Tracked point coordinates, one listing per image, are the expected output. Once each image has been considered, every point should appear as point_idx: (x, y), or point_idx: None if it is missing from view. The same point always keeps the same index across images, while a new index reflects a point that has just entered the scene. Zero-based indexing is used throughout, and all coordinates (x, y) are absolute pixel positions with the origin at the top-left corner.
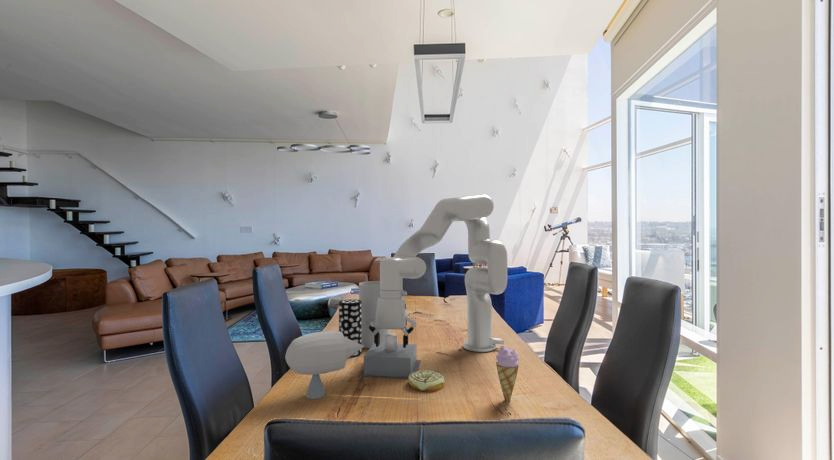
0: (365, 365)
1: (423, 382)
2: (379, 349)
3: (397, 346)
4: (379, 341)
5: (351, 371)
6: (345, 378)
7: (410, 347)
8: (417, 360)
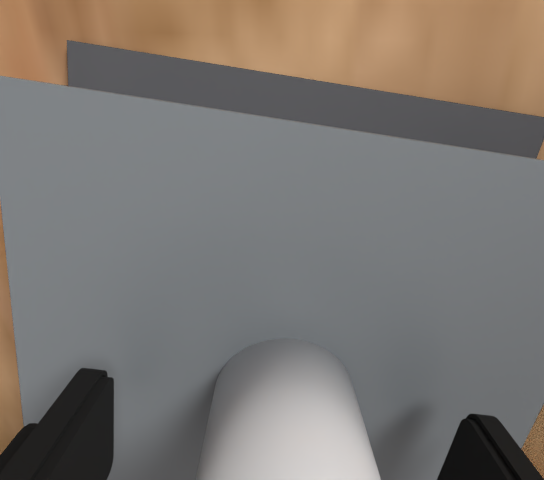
0: None
1: None
2: (141, 376)
3: (362, 270)
4: (92, 421)
5: (3, 324)
6: (12, 425)
7: (527, 315)
8: (515, 125)
